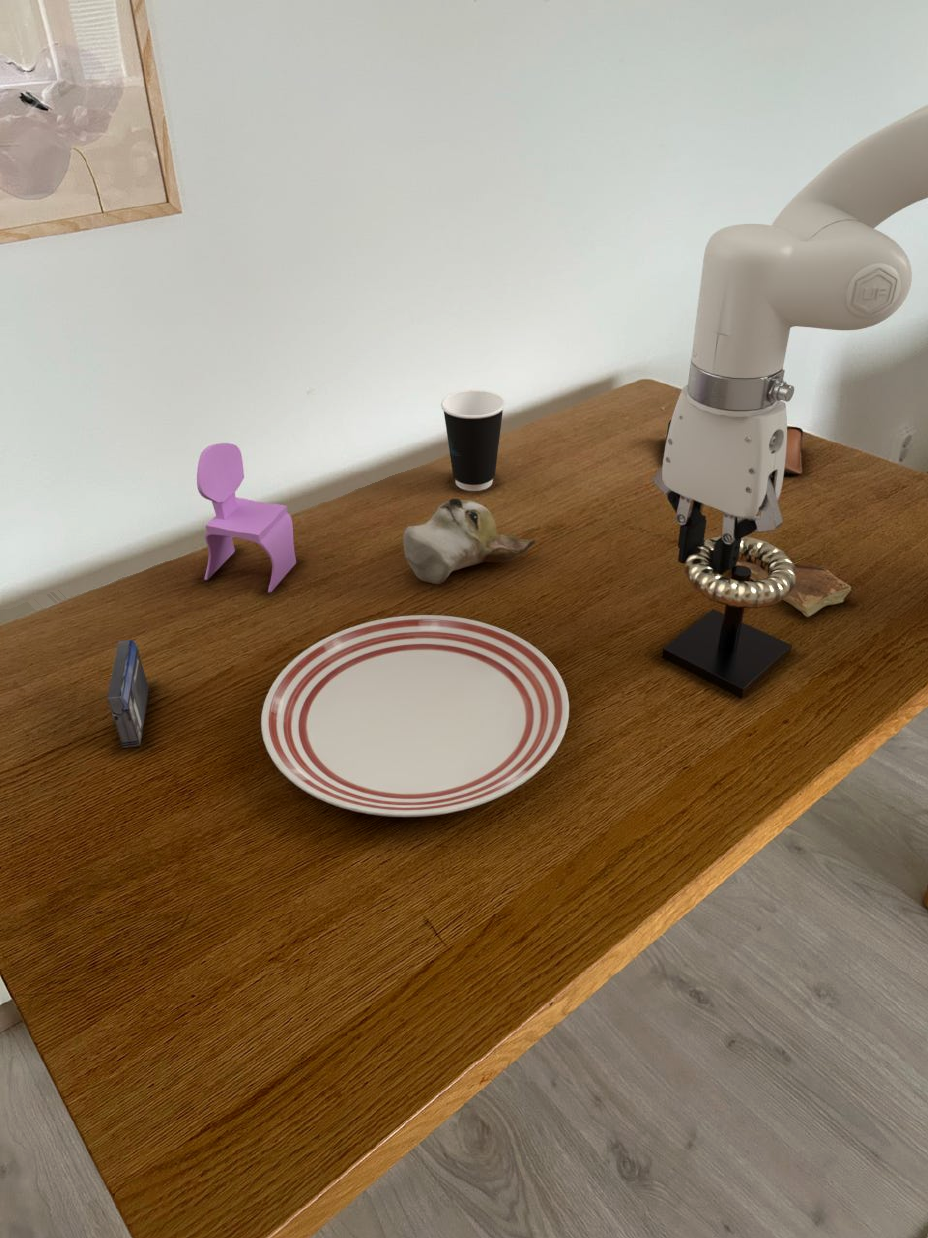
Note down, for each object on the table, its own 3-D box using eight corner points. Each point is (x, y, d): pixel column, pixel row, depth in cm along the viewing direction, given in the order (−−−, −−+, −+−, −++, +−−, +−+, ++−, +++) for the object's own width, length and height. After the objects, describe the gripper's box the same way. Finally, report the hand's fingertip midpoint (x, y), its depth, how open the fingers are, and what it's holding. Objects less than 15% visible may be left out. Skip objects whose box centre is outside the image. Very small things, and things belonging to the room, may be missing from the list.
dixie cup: (430, 484, 126) (427, 405, 119) (469, 461, 131) (468, 383, 124) (479, 503, 122) (478, 422, 115) (517, 478, 127) (518, 399, 120)
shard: (731, 570, 109) (733, 556, 108) (781, 550, 112) (784, 537, 111) (803, 619, 102) (806, 605, 101) (855, 597, 105) (859, 583, 104)
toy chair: (270, 598, 106) (250, 475, 97) (199, 585, 108) (173, 463, 100) (304, 558, 112) (288, 439, 103) (236, 546, 115) (215, 429, 106)
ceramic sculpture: (375, 499, 105) (479, 462, 114) (376, 567, 110) (475, 527, 119) (438, 539, 99) (543, 497, 107) (436, 610, 104) (537, 564, 112)
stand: (789, 654, 97) (810, 568, 91) (741, 698, 92) (759, 610, 86) (711, 617, 102) (725, 534, 96) (661, 657, 97) (673, 571, 91)
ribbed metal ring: (813, 578, 92) (818, 557, 91) (757, 627, 86) (761, 606, 85) (720, 539, 98) (724, 519, 96) (662, 583, 92) (665, 562, 90)
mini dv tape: (140, 746, 88) (125, 696, 84) (123, 748, 88) (107, 698, 84) (148, 688, 94) (135, 638, 91) (132, 689, 94) (118, 640, 91)
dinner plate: (235, 678, 95) (229, 651, 93) (490, 609, 104) (491, 583, 102) (314, 888, 75) (309, 859, 73) (624, 781, 84) (627, 753, 82)
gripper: (845, 395, 80) (803, 580, 91) (677, 346, 90) (657, 519, 101) (799, 425, 76) (760, 615, 87) (628, 370, 85) (613, 549, 96)
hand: (705, 562), depth 94 cm, fingers closed on ribbed metal ring, 3 cm apart
